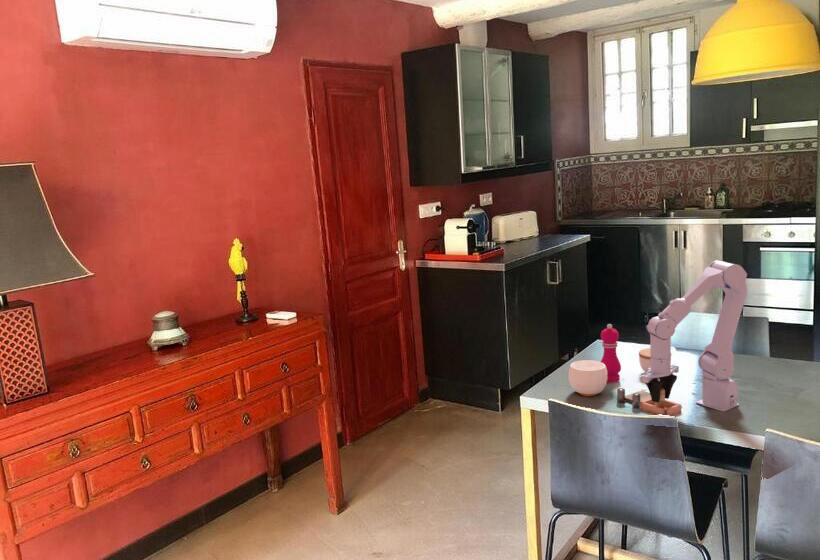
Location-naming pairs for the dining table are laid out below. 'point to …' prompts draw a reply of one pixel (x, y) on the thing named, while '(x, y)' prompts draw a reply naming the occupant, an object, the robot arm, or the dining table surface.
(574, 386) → the cup
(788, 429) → the dining table surface
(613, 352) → the pepper mill
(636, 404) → the bench dogs
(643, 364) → the lidded jar
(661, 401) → the dowel
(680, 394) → the dining table surface
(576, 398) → the dining table surface
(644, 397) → the tan flat wooden block
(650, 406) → the dish
